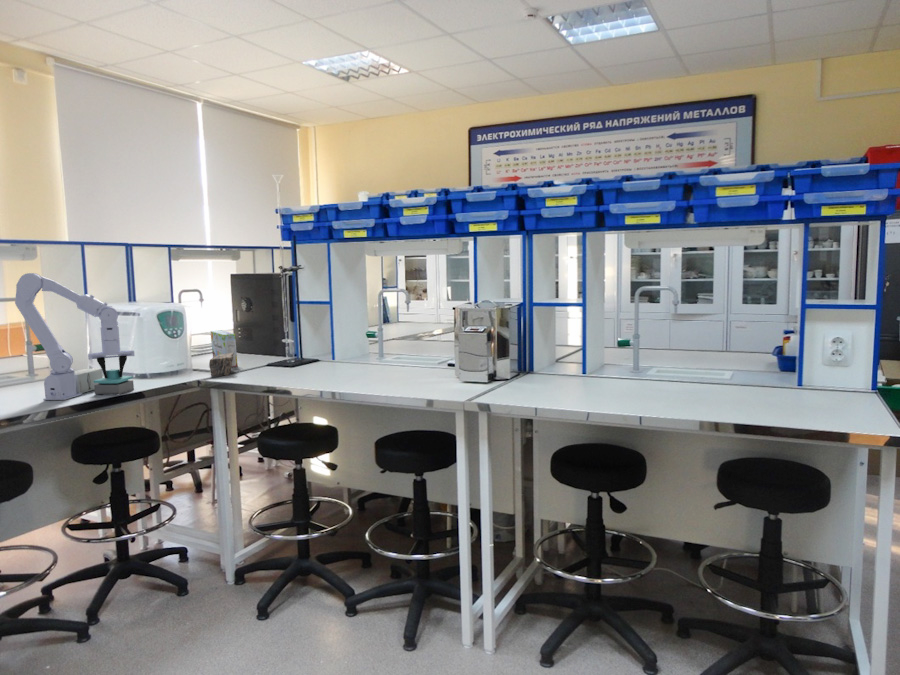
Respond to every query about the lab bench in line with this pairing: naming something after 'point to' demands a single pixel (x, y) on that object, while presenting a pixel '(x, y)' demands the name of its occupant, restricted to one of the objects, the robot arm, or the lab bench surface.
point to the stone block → (221, 364)
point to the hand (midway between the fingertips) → (113, 377)
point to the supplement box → (87, 379)
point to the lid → (113, 377)
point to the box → (114, 388)
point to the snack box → (224, 344)
